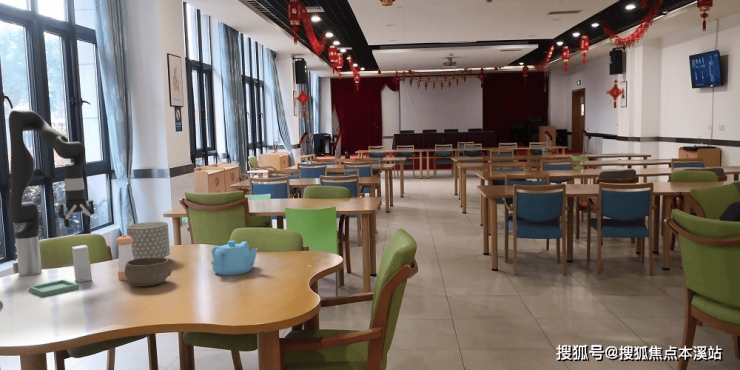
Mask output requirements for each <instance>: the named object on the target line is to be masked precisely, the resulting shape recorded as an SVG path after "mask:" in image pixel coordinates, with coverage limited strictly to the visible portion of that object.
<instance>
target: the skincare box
mask: <svg viewBox="0 0 740 370" xmlns="http://www.w3.org/2000/svg"><path fill="white" fill-rule="evenodd" d="M89 252H90V250H89V246H88V245H87V244H82V245H76V246H71V254H72V261H73V263H72V264H73V272H74V279H75V280H76V282H77V283H82V282H90V281H92V280H93V277H92V270H91V260H90V253H89Z"/></svg>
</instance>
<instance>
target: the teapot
mask: <svg viewBox="0 0 740 370" xmlns="http://www.w3.org/2000/svg"><path fill="white" fill-rule="evenodd" d="M236 242H237V241H236V240H228V241H227V244H224V245H217V246H214V247H213V248H211V249H212V250H211V254H212V255H211V256H212V258H213V259H212V260H211V262H210V264H211V266H212V270H213V271H214V273H215V274H217V275H219V276H237V275H243V274H246V273H249V272H250V271H251V270H252V268H253V267H254V266H255V261H256V258H257V257H256V256H257V253H258V248H255V247H253V248H251V250H250V247H249V244H248V241H241V242H240V243H236Z"/></svg>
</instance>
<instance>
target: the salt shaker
mask: <svg viewBox="0 0 740 370" xmlns="http://www.w3.org/2000/svg"><path fill="white" fill-rule="evenodd" d="M115 243H116V245H117V247H118V248H117V250H118V260H117V267H118V270H117V274H118V275H117V279H118V280H120V281H128V279H127V278H126V275H125V266H126V263H127V262H128V261H130V260H134V258H133V254H132V244H131V243H133V238H132V237H130V236H127V234H123V235H121V236H119V237H117V238H116V240H115Z"/></svg>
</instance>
